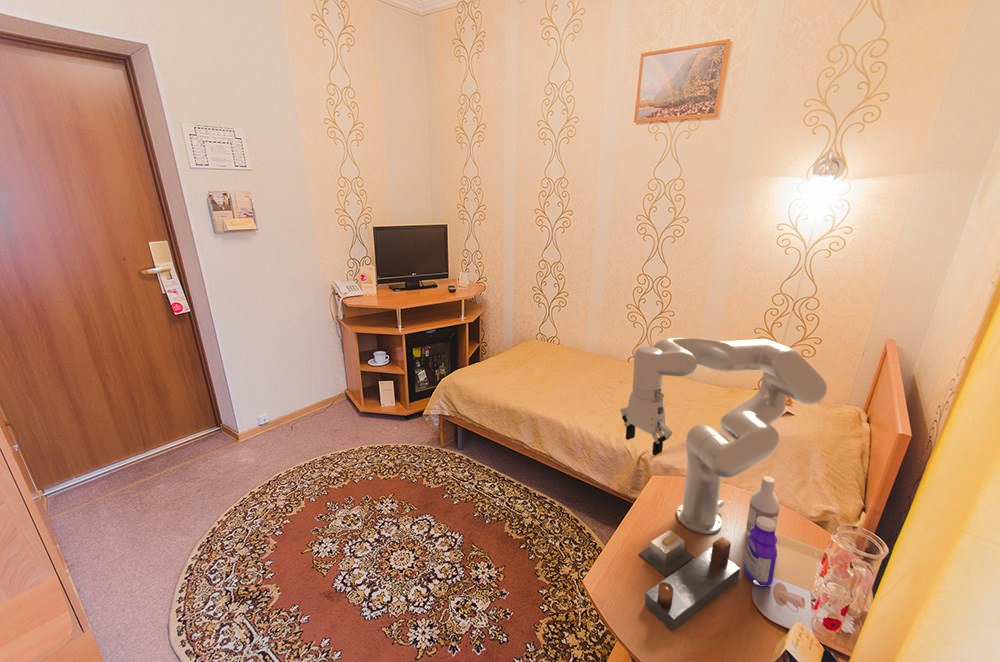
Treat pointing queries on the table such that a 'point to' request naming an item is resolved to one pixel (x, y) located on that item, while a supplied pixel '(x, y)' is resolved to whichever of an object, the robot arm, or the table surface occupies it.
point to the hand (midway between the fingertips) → (643, 445)
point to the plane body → (693, 586)
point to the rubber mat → (672, 566)
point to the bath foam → (763, 504)
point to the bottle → (761, 552)
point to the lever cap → (667, 548)
